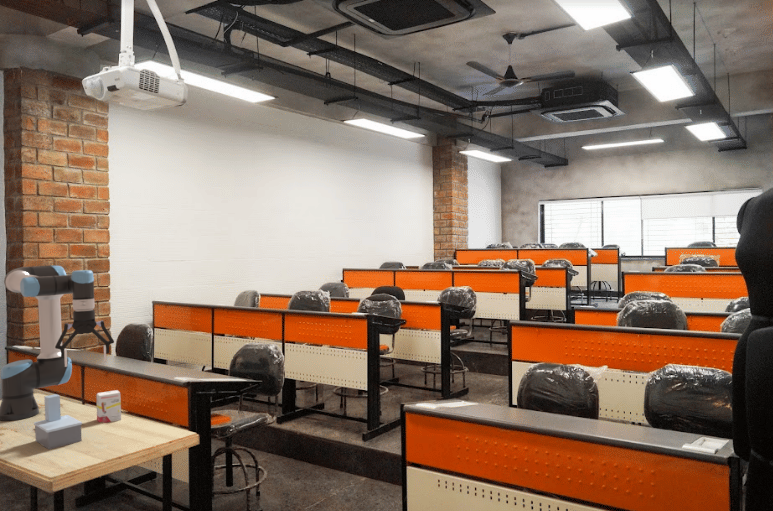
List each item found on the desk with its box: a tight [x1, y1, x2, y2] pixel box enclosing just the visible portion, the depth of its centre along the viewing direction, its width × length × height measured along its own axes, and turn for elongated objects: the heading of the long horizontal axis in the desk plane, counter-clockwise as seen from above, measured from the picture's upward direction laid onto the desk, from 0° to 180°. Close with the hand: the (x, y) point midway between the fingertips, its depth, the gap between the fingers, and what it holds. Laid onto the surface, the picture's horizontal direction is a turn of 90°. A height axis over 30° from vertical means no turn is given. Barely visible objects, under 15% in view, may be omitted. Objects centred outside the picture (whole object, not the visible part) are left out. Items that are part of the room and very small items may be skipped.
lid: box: [33, 393, 83, 433], centre depth 212 cm, size 15×12×11 cm
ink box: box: [96, 389, 122, 424], centre depth 238 cm, size 9×5×12 cm, turn 127°
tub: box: [34, 424, 83, 450], centre depth 212 cm, size 14×11×7 cm
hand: (85, 364), depth 223 cm, fingers open, 13 cm apart
